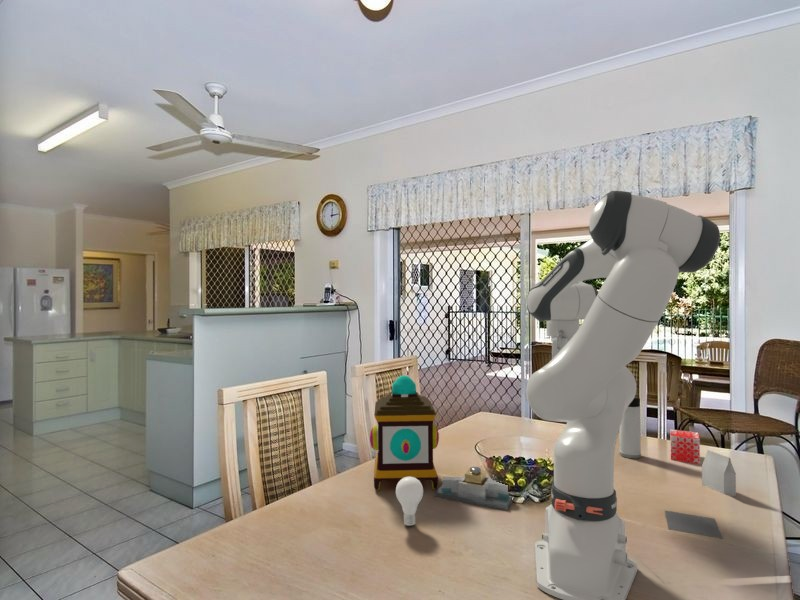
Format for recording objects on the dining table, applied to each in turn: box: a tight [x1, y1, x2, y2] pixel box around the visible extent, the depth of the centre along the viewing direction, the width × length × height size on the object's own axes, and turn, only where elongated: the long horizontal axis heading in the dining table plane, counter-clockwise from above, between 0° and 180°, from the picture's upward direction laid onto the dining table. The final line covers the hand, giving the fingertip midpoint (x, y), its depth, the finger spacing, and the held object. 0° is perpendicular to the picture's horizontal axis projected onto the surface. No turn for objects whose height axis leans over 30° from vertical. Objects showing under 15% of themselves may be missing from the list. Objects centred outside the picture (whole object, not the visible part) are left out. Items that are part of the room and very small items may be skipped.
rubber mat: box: [664, 510, 724, 540], centre depth 104 cm, size 10×10×1 cm
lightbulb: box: [395, 476, 424, 527], centre depth 106 cm, size 6×6×11 cm
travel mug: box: [618, 397, 642, 460], centre depth 153 cm, size 6×7×20 cm
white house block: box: [701, 449, 737, 497], centre depth 124 cm, size 4×7×10 cm, turn 11°
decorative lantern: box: [369, 374, 440, 491], centre depth 134 cm, size 20×20×30 cm
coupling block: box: [464, 466, 487, 485], centre depth 122 cm, size 4×4×6 cm
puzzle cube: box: [669, 429, 701, 465], centre depth 150 cm, size 8×8×8 cm
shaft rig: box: [434, 474, 514, 511], centre depth 122 cm, size 10×19×4 cm, turn 64°
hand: (563, 378), depth 131 cm, fingers open, 8 cm apart
